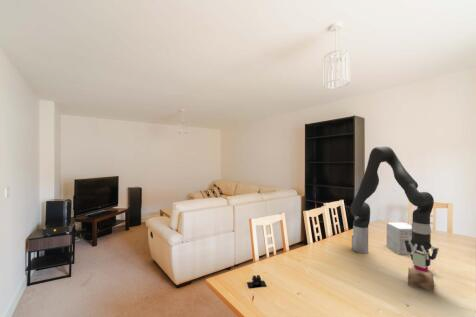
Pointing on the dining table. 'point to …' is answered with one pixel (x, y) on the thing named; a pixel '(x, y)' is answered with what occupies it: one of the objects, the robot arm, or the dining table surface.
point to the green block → (419, 259)
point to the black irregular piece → (256, 282)
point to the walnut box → (420, 279)
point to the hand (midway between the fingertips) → (420, 263)
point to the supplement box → (399, 237)
